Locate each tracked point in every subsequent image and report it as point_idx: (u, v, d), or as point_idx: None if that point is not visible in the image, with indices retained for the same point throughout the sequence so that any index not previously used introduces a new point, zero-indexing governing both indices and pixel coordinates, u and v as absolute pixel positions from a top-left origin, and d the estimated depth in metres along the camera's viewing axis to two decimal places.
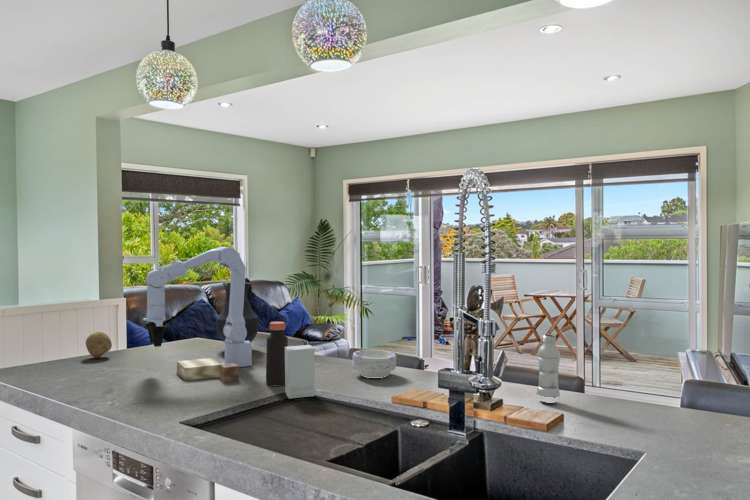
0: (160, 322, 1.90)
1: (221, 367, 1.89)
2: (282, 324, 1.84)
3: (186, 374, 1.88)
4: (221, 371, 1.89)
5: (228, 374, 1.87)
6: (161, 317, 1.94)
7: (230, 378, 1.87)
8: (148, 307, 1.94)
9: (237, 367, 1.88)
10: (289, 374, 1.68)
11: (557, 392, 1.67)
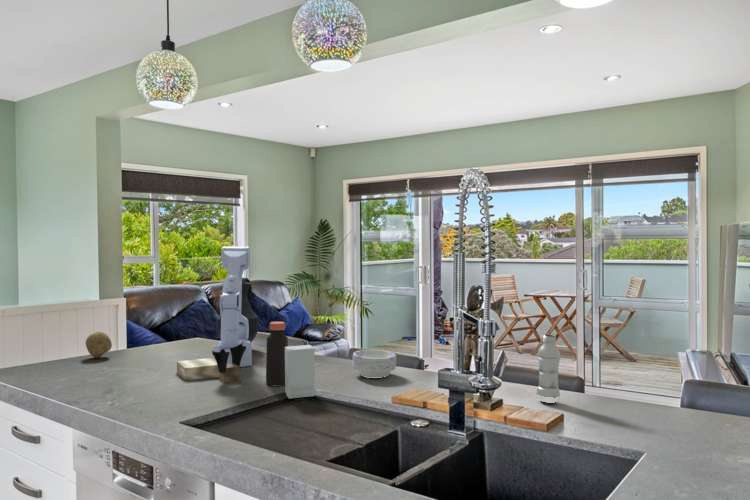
0: (216, 348, 1.82)
1: None
2: (282, 324, 1.84)
3: (186, 374, 1.88)
4: None
5: (228, 375, 1.87)
6: (228, 342, 1.86)
7: (229, 379, 1.87)
8: None
9: (237, 368, 1.88)
10: (289, 374, 1.68)
11: (557, 392, 1.67)
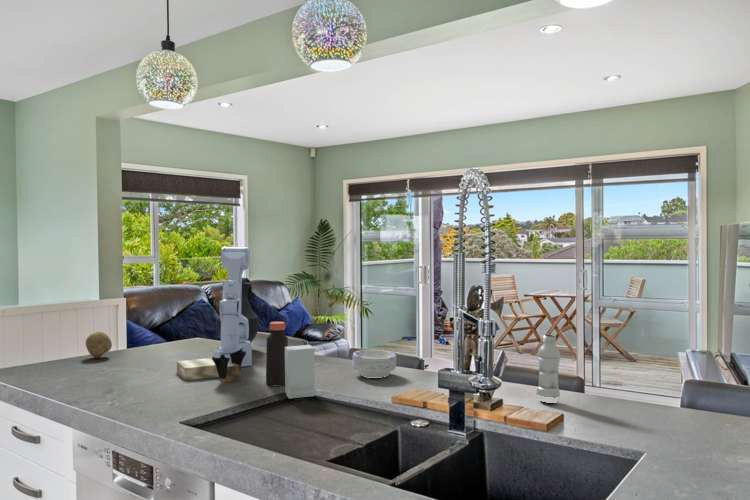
0: (216, 354, 1.82)
1: None
2: (282, 324, 1.84)
3: (186, 374, 1.88)
4: None
5: (228, 374, 1.87)
6: (228, 348, 1.86)
7: (230, 378, 1.87)
8: None
9: (237, 367, 1.88)
10: (289, 374, 1.68)
11: (557, 392, 1.67)
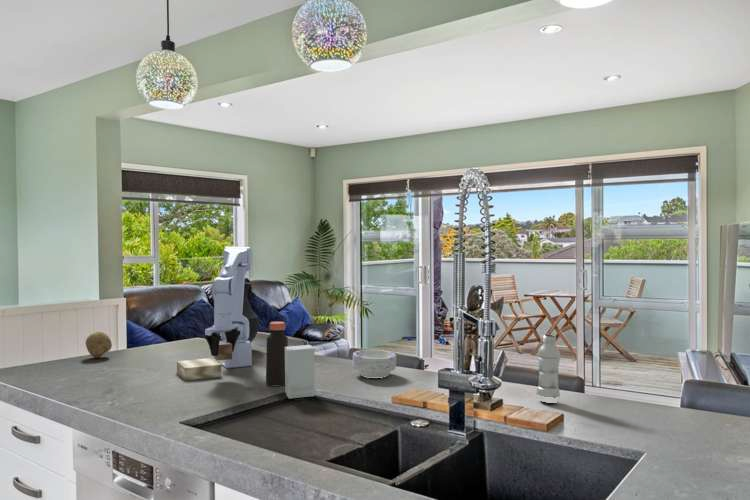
0: (207, 331, 1.84)
1: None
2: (282, 324, 1.84)
3: (186, 374, 1.88)
4: None
5: (221, 352, 1.88)
6: (220, 326, 1.88)
7: (222, 356, 1.88)
8: None
9: (230, 345, 1.89)
10: (289, 374, 1.68)
11: (557, 392, 1.67)
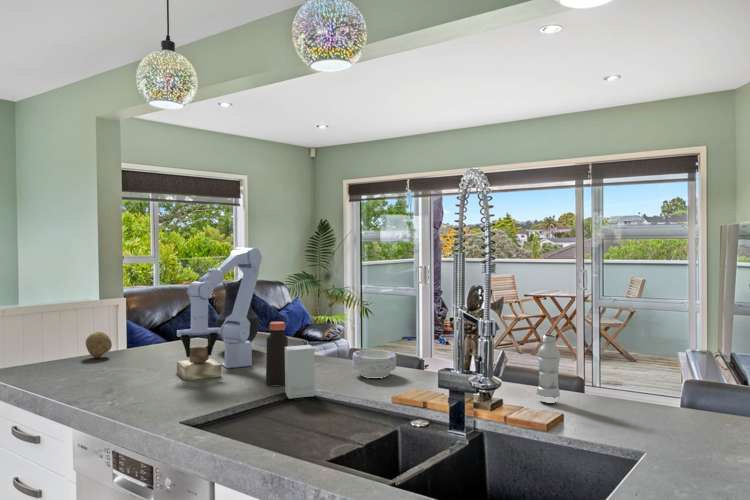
0: (177, 332, 1.92)
1: None
2: (282, 324, 1.84)
3: (186, 374, 1.88)
4: None
5: (193, 354, 1.93)
6: (193, 329, 1.93)
7: (195, 359, 1.93)
8: None
9: (202, 349, 1.93)
10: (289, 374, 1.68)
11: (557, 392, 1.67)
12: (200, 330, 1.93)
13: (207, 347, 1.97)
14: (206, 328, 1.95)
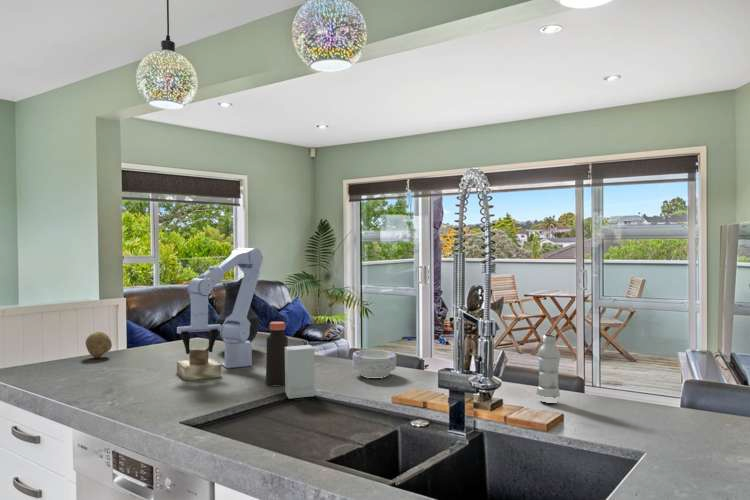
0: (177, 329, 1.92)
1: None
2: (282, 324, 1.84)
3: (186, 374, 1.88)
4: None
5: (193, 357, 1.93)
6: (193, 326, 1.93)
7: (195, 361, 1.93)
8: None
9: (202, 351, 1.93)
10: (289, 374, 1.68)
11: (557, 392, 1.67)
12: (200, 327, 1.93)
13: (207, 349, 1.97)
14: (206, 325, 1.95)
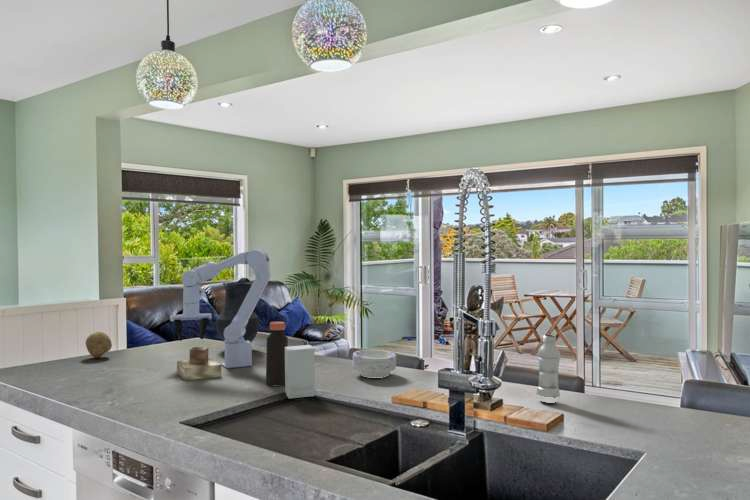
0: (170, 317, 2.06)
1: None
2: (282, 324, 1.84)
3: (186, 374, 1.88)
4: None
5: (193, 357, 1.93)
6: (185, 314, 2.08)
7: (195, 361, 1.93)
8: None
9: (202, 351, 1.93)
10: (289, 374, 1.68)
11: (557, 392, 1.67)
12: (192, 315, 2.07)
13: (207, 349, 1.97)
14: (197, 313, 2.09)
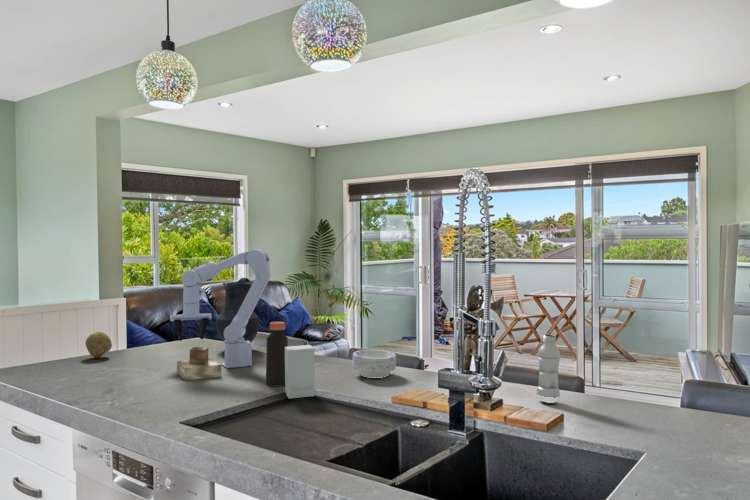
0: (170, 317, 2.06)
1: None
2: (282, 324, 1.84)
3: (186, 374, 1.88)
4: None
5: (193, 357, 1.93)
6: (185, 314, 2.08)
7: (195, 361, 1.93)
8: None
9: (202, 351, 1.93)
10: (289, 374, 1.68)
11: (557, 392, 1.67)
12: (192, 315, 2.07)
13: (207, 349, 1.97)
14: (197, 313, 2.09)
